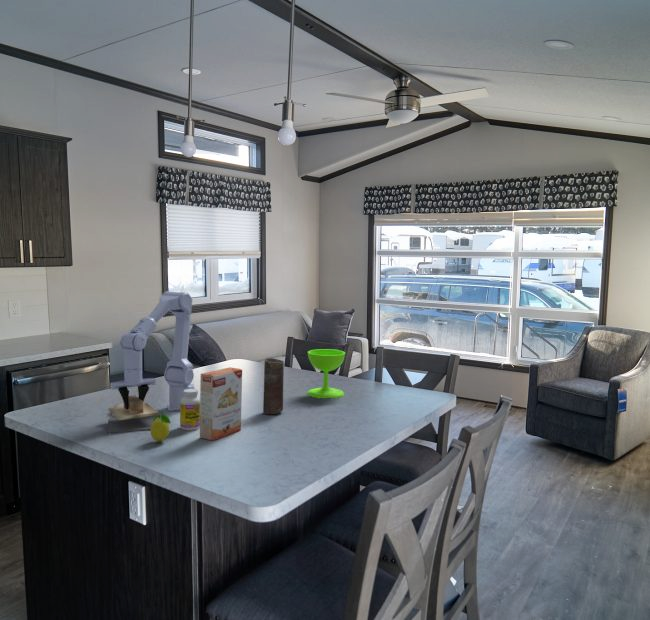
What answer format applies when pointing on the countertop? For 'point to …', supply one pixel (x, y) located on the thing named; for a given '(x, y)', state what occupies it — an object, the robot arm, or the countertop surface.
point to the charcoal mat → (130, 424)
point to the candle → (273, 386)
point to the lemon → (160, 427)
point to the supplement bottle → (190, 410)
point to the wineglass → (326, 370)
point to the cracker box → (220, 403)
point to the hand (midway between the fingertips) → (133, 407)
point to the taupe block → (133, 409)
